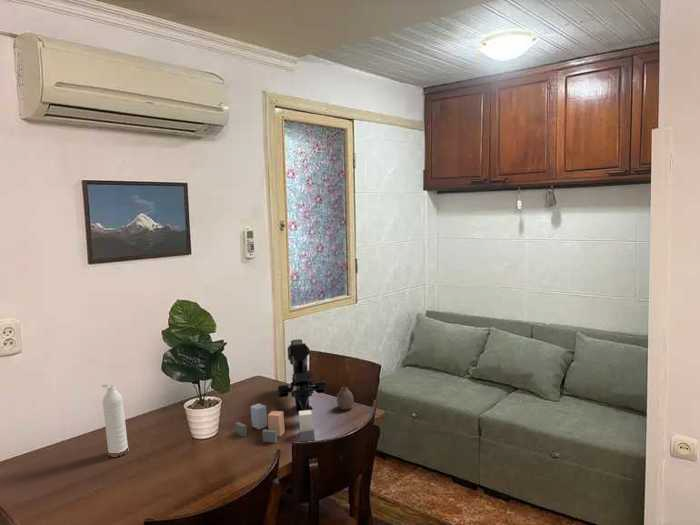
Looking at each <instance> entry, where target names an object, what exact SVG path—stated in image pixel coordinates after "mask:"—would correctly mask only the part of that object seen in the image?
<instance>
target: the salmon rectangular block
mask: <svg viewBox="0 0 700 525" xmlns="http://www.w3.org/2000/svg"><path fill="white" fill-rule="evenodd" d="M267 427H268V430H277V438H279V437H282V436H283V435H284V433H285V432H286V430H285V416H284V410H283V411H281V410H279V411H278V410H272V411H270V412H269V413H267Z"/></svg>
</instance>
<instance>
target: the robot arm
mask: <svg viewBox="0 0 700 525" xmlns="http://www.w3.org/2000/svg"><path fill="white" fill-rule="evenodd" d="M290 343H291V344H289V345H288V347H287V359H288V361H289V363H290V365H292V371H293V373H292V375H291V376H292V378H291V380H292V382H290V387H289V384H280V385H278V386H277V392H278V397H279V398H287V397H288V396H289V393H291V398H294V402H295V403H294V404H295V405H293V406H292V408H293V409H294V410H295V411H296V412H297V413H299V411H305V410H312V409H313V407H312V406H311V405H310V397H312V395H313V394H314V391H315V392H316V393H317V394H325V393H326V392H327V382H326V381H325V380H319V381H318V380H317V381H315V384H314V383H313V382H312V380H313V379H314V375H313V369H311V370H309V369H308V356H310V354H311V350H310V347H308V345H307V344H306V342H304V343H303V340H302V339H293V340H291V341H290Z"/></svg>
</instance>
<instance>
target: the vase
mask: <svg viewBox="0 0 700 525" xmlns="http://www.w3.org/2000/svg"><path fill="white" fill-rule="evenodd" d="M336 403H337V407H339V409H340V410H343V411H347V410H350V409H352V407H353V405H354V395H353V393H352V392H351V390H350V389H349V388H348V386H342V387H341V388H340V390H339V392H338V393H337V396H336Z"/></svg>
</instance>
